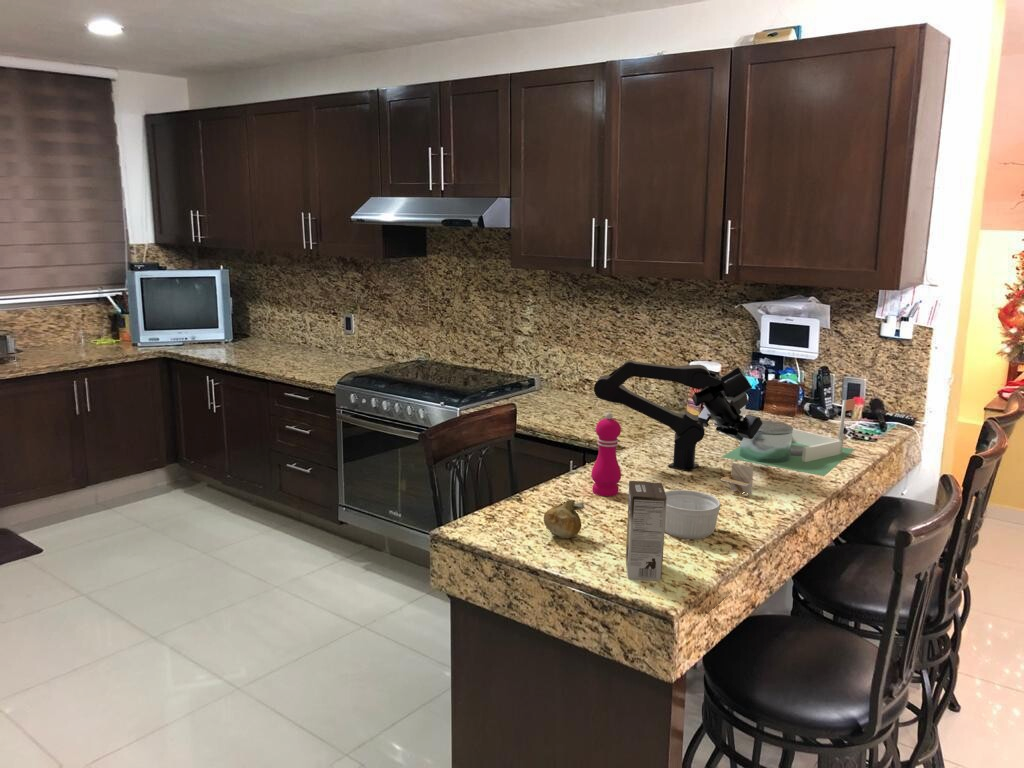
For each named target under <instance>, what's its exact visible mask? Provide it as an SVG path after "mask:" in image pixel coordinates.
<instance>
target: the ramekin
mask: <svg viewBox="0 0 1024 768" xmlns="http://www.w3.org/2000/svg"><path fill="white" fill-rule="evenodd" d="M665 494H666V497H667V503H666V519H665V533H666V534H667V535H671V536H672V537H676V538H680V539H686V540H698V539H706V538H708V537H710V536H711V535H712V534H713V533H714V531H715V529H716V526H717V521H718V516H719V512H720V510H721V502H720V500H719V499H718V498H717V497H716V496H713V495H711V494H708V493H705V492H702V491H696V490H689V489H672V490H666V491H665Z"/></svg>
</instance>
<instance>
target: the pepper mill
mask: <svg viewBox="0 0 1024 768" xmlns="http://www.w3.org/2000/svg"><path fill="white" fill-rule="evenodd" d="M604 417H605V418H602V419H601V420H599V421H598V422H597V424H596V426H595V433H596V435H597V437H598V438H597V443H596V444H597V445H598V452H597V453H598V454H597V456H596V457H597V458H596V460H595V462H594V464H593V466H592V469H591V472H590V473H591V475H590V476H591V479H592V480H593V482H594V483H593V484H592V493H593V494H594V495H596V496H601V497H613V496H614V497H615V496H617V495H618V494H619V485H618V483H619V482H620V480H621V479H622V471H621V467H620V465H619V462H618V459H617V446H618V445H619V443H618V442H619V439H618V437H619V436H620V435H621V431H622V427H621V424H620V423H619V422H618V421H617V420H616V419H613V417H614V416H613V414H612V412H606V414H605V416H604Z"/></svg>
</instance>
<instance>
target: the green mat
mask: <svg viewBox="0 0 1024 768" xmlns="http://www.w3.org/2000/svg"><path fill="white" fill-rule="evenodd" d="M791 445H798V446H803V447H809V446H807V445H803V444H799V443H795V442H791ZM855 450H856V449H855V448H849V447H844V446H843V447H842V454H839V455H834V456H830V457H826V458H821V459H817V460H812V461H808V462H802V456H791V455H790V460H789V461H787V462H782V463H764V462H757V461H752V460H748V459H745V458H743V457H741V456H740V455H739V451H740V445H739V446H738V447H736V448H734V449H732V450H730V451H729V452H727V453H725V454H723V455H722V456H721V458H725V459H730V460H734V461H741V462H744V463H745V462H747V463H751V464H758V465H763V466H768V467H773V468H778V469H784V470H789V471H794V472H800V473H805V474H810V475H815V476H816V475H817V476H821V477H825V476H827V474H829V473H830V472H831V471H832V470H833V469H834V468H835V467H837V465H839V464H841V462H842V461H843V460H845V459H846V458H848V456H849V455H851V454H852V453H853V452H854V451H855Z"/></svg>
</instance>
